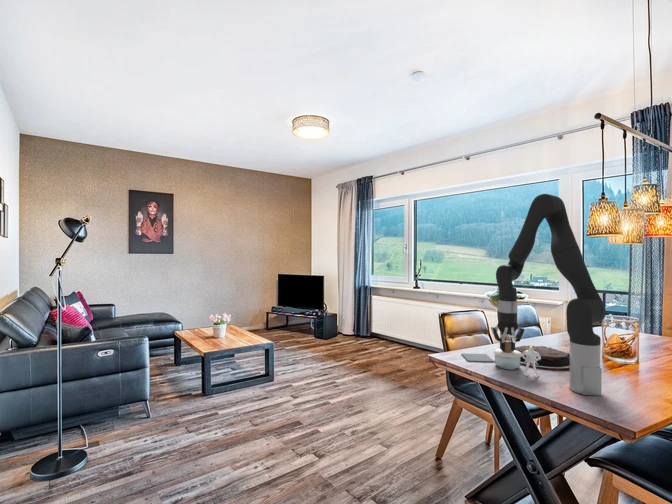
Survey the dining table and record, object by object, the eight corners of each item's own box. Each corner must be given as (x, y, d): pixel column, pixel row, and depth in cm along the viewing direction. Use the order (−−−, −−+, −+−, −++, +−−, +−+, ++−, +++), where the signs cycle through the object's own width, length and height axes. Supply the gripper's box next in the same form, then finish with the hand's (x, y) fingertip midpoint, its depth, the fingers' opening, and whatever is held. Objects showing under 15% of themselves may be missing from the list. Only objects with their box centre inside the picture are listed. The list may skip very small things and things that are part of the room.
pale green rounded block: (524, 371, 155) (524, 357, 155) (499, 370, 156) (499, 357, 156) (514, 363, 165) (514, 351, 165) (491, 363, 166) (491, 350, 166)
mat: (494, 362, 167) (494, 361, 167) (468, 361, 167) (468, 360, 167) (486, 355, 178) (486, 354, 178) (461, 354, 179) (461, 353, 179)
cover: (526, 358, 154) (526, 344, 154) (498, 357, 155) (498, 344, 155) (515, 351, 165) (515, 338, 165) (489, 350, 166) (489, 338, 166)
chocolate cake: (525, 350, 189) (525, 337, 189) (588, 363, 167) (588, 349, 167) (495, 359, 173) (495, 345, 173) (560, 375, 150) (560, 359, 150)
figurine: (541, 375, 149) (541, 346, 149) (540, 379, 145) (540, 348, 145) (521, 372, 152) (521, 343, 152) (520, 375, 149) (520, 345, 149)
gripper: (493, 312, 157) (493, 353, 157) (528, 312, 156) (528, 353, 156) (488, 309, 164) (487, 348, 164) (520, 309, 163) (520, 349, 163)
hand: (507, 350), depth 160 cm, fingers closed on cover, 3 cm apart
